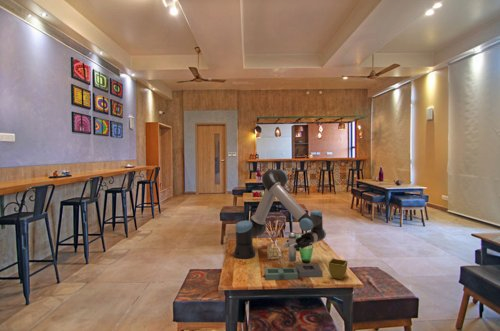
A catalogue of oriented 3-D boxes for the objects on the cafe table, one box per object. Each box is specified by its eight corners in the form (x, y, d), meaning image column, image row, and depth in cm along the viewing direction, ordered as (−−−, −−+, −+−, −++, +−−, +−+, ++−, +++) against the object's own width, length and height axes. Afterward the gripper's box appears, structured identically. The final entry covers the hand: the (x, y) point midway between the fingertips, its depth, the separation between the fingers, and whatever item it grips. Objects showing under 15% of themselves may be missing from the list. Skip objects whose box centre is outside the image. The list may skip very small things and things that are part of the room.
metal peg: (288, 259, 175) (287, 232, 175) (295, 259, 175) (295, 232, 175) (289, 261, 171) (289, 234, 170) (296, 261, 171) (296, 233, 171)
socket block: (295, 268, 184) (295, 264, 184) (316, 268, 184) (316, 263, 184) (299, 277, 171) (299, 272, 171) (322, 276, 171) (322, 271, 171)
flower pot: (332, 273, 176) (332, 258, 175) (347, 276, 171) (347, 260, 171) (328, 278, 168) (328, 262, 168) (344, 281, 164) (343, 265, 163)
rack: (264, 273, 178) (264, 268, 178) (294, 272, 178) (294, 267, 178) (265, 279, 168) (265, 274, 168) (297, 279, 168) (297, 273, 168)
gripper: (321, 247, 180) (299, 257, 163) (297, 241, 192) (274, 250, 175) (321, 234, 180) (299, 243, 163) (297, 230, 192) (274, 238, 175)
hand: (286, 247), depth 169 cm, fingers closed on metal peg, 4 cm apart
